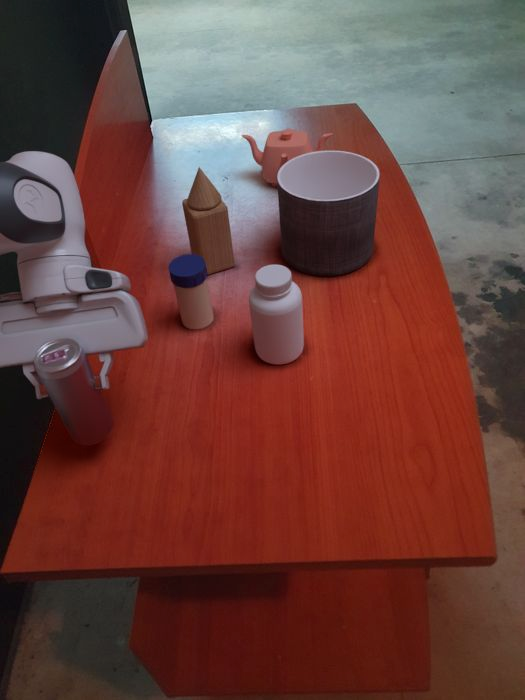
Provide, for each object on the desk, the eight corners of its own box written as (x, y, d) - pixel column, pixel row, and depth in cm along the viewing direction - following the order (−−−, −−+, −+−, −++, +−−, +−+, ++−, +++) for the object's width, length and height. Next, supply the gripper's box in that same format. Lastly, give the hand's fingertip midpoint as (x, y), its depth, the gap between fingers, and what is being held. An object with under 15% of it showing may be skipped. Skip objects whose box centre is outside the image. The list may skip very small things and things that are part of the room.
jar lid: (172, 291, 90) (170, 279, 88) (169, 269, 94) (166, 257, 93) (209, 284, 91) (207, 272, 89) (204, 262, 95) (202, 251, 93)
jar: (183, 332, 97) (171, 281, 89) (180, 311, 101) (168, 260, 93) (216, 326, 97) (207, 274, 89) (211, 305, 101) (202, 254, 93)
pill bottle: (248, 338, 94) (239, 265, 84) (294, 326, 96) (291, 253, 85) (263, 371, 89) (255, 298, 78) (311, 358, 90) (310, 284, 80)
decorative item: (236, 267, 108) (223, 170, 94) (203, 277, 107) (186, 180, 93) (223, 249, 113) (209, 154, 99) (192, 259, 111) (173, 163, 97)
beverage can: (69, 420, 80) (30, 345, 70) (111, 407, 81) (78, 331, 71) (74, 453, 76) (33, 378, 65) (118, 438, 77) (85, 363, 67)
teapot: (333, 177, 130) (334, 130, 122) (285, 201, 124) (283, 153, 116) (291, 156, 138) (289, 111, 130) (244, 178, 132) (240, 132, 125)
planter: (287, 222, 118) (283, 150, 107) (374, 224, 115) (380, 150, 104) (275, 275, 106) (270, 200, 95) (372, 279, 103) (379, 202, 92)
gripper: (-37, 295, 69) (-20, 408, 69) (132, 271, 70) (149, 383, 70) (-14, 299, 75) (2, 403, 75) (141, 278, 76) (156, 380, 76)
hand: (74, 393), depth 72 cm, fingers closed on beverage can, 6 cm apart
